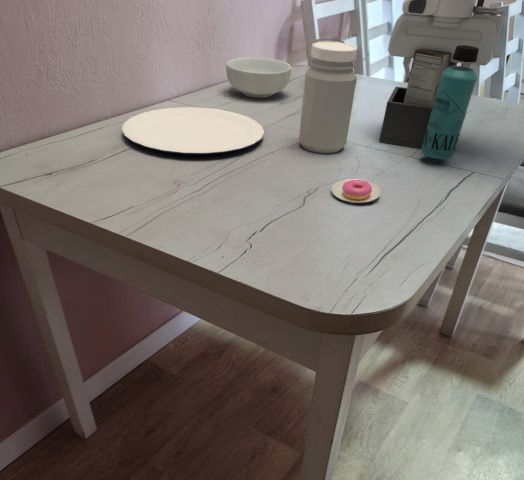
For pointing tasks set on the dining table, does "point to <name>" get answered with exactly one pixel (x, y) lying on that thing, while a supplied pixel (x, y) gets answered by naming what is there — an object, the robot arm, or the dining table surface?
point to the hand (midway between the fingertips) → (431, 84)
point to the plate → (193, 130)
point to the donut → (356, 190)
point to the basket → (404, 121)
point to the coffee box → (426, 76)
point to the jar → (328, 97)
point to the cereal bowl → (258, 76)
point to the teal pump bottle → (450, 106)
